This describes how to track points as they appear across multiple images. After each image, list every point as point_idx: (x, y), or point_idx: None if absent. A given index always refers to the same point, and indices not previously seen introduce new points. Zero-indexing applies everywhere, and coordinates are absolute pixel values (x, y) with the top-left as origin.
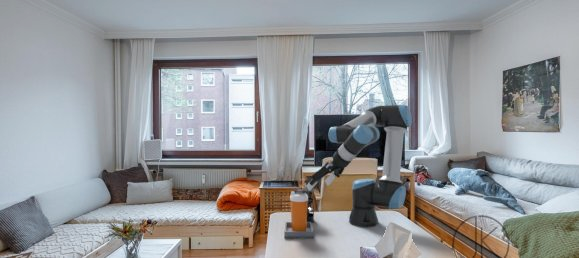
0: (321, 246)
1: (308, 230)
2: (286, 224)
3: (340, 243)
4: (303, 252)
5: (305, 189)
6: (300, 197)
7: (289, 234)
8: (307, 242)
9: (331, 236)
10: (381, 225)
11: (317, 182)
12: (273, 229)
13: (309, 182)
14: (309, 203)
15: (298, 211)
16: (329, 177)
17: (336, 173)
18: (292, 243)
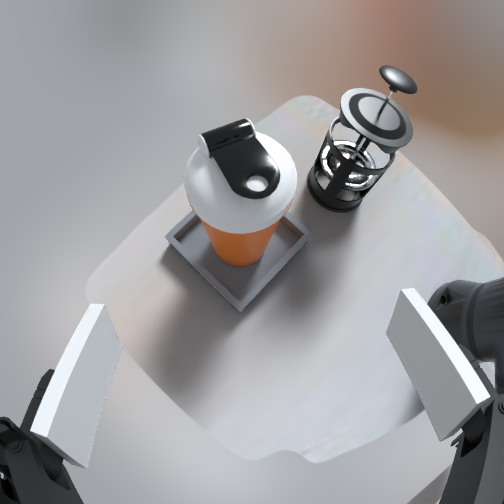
0: (207, 377)
1: (269, 261)
2: None
3: (273, 404)
4: (135, 361)
5: (379, 112)
6: (206, 210)
7: (178, 251)
8: (197, 323)
9: (299, 346)
10: None
11: (88, 456)
12: None
13: (67, 352)
14: (356, 172)
15: (207, 232)
16: (434, 357)
17: (452, 483)
18: (157, 292)
